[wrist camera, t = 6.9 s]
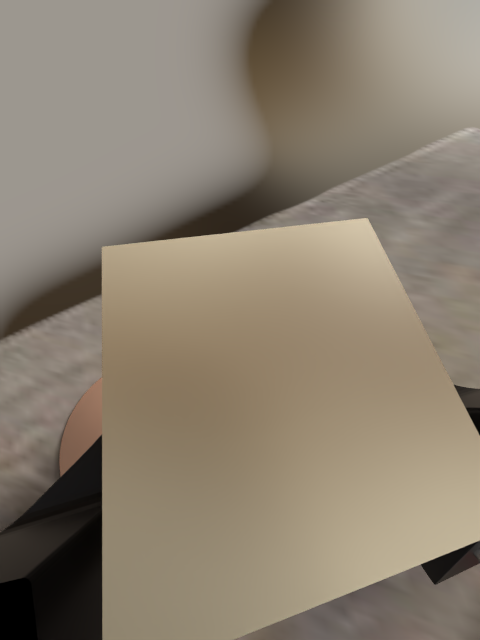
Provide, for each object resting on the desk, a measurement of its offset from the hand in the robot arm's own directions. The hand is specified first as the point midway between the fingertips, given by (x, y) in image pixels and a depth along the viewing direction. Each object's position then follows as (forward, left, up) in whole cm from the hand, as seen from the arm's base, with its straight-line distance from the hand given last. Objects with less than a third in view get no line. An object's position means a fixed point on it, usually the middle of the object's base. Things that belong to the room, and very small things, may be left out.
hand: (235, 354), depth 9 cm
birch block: (0, -1, -7) cm, 7 cm away
